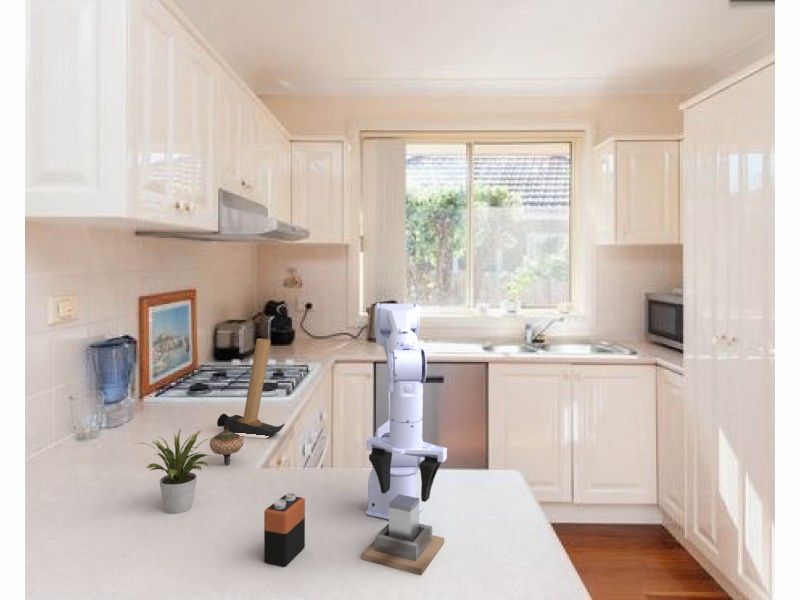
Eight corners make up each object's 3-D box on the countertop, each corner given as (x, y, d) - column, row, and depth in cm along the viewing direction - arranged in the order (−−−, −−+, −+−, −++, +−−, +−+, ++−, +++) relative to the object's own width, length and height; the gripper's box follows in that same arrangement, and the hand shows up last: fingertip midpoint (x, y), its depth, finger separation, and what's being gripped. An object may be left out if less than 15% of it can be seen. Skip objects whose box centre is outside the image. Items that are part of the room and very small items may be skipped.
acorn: (206, 463, 130) (205, 424, 130) (238, 457, 135) (238, 419, 134) (213, 473, 123) (213, 432, 123) (247, 466, 128) (247, 427, 128)
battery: (262, 563, 85) (262, 504, 84) (284, 543, 91) (284, 488, 91) (285, 568, 83) (286, 508, 83) (305, 547, 90) (306, 492, 89)
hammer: (282, 441, 155) (298, 346, 152) (273, 447, 150) (291, 348, 147) (225, 424, 160) (240, 331, 157) (215, 428, 155) (231, 333, 152)
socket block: (361, 559, 86) (361, 539, 86) (389, 530, 96) (389, 512, 96) (421, 575, 82) (421, 553, 82) (444, 543, 92) (444, 524, 92)
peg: (388, 548, 88) (389, 502, 88) (398, 537, 92) (398, 494, 91) (409, 553, 86) (410, 507, 86) (418, 542, 90) (419, 498, 90)
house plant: (137, 534, 94) (136, 446, 93) (129, 505, 105) (128, 428, 105) (217, 515, 102) (216, 434, 101) (201, 490, 113) (201, 418, 113)
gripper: (358, 418, 88) (357, 496, 88) (437, 430, 82) (436, 512, 82) (376, 409, 94) (376, 481, 95) (451, 419, 88) (450, 496, 89)
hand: (405, 495), depth 89 cm, fingers open, 7 cm apart
